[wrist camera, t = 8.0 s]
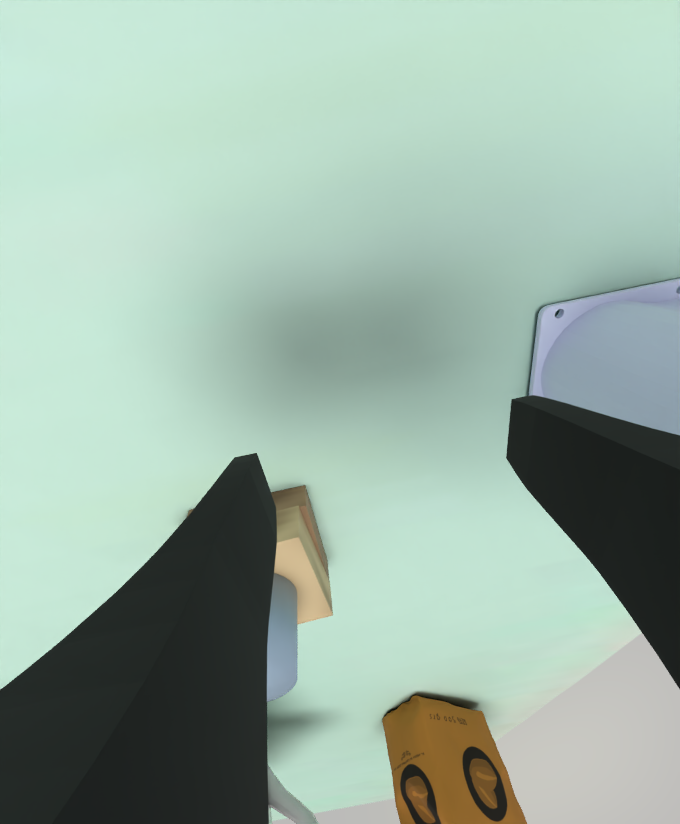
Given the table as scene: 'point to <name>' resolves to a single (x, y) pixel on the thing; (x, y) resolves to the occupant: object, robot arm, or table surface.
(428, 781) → the coffee package
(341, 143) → the table surface
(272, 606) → the round block
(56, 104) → the table surface
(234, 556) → the robot arm
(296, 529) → the oak slab
